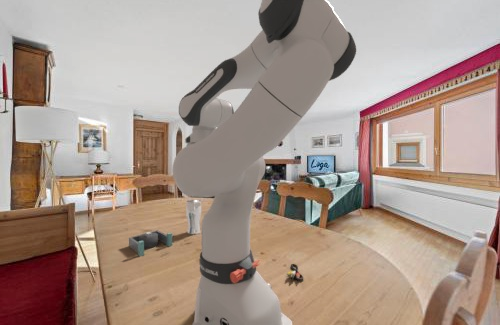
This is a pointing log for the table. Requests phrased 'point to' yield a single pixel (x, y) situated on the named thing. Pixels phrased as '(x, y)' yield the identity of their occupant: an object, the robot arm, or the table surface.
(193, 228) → the beer glass
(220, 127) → the robot arm
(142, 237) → the dark grey rounded dome
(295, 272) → the composite cable
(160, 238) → the cable holder
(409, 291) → the table surface
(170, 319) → the table surface
